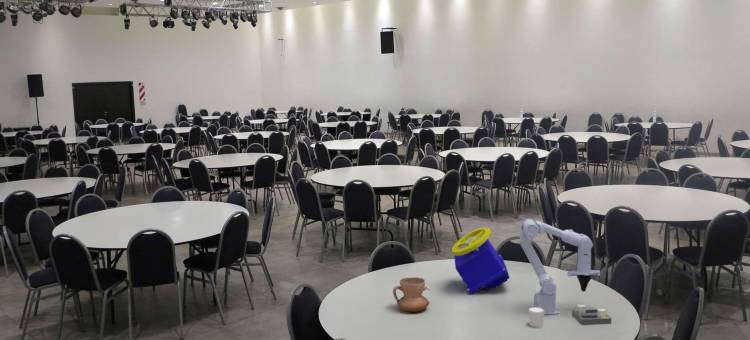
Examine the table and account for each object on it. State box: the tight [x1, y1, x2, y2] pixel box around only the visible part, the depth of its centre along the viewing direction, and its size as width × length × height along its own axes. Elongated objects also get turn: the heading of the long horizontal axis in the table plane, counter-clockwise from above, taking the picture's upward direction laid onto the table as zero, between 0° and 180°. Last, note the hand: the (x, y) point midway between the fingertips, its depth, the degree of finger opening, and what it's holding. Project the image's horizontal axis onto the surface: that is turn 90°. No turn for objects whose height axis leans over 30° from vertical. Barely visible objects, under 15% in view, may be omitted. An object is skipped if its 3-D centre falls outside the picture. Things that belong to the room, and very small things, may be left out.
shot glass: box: [528, 306, 545, 328], centre depth 269 cm, size 7×7×7 cm
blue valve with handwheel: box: [451, 226, 511, 295], centre depth 316 cm, size 26×27×30 cm
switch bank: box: [571, 308, 612, 326], centre depth 274 cm, size 13×11×2 cm
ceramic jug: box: [392, 276, 431, 313], centre depth 292 cm, size 18×14×14 cm
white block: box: [576, 304, 587, 314], centre depth 277 cm, size 3×3×4 cm
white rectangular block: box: [596, 308, 607, 318], centre depth 271 cm, size 3×3×4 cm
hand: (583, 290), depth 282 cm, fingers closed
